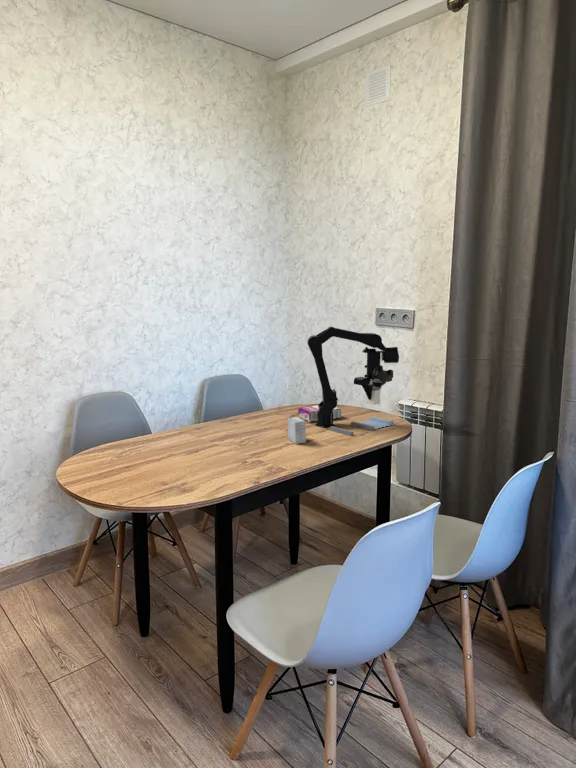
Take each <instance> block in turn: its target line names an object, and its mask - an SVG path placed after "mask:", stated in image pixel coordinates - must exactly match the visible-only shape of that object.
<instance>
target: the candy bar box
mask: <svg viewBox="0 0 576 768" xmlns="http://www.w3.org/2000/svg"><path fill="white" fill-rule="evenodd" d="M318 412H319V408H318V405H312V406H302V407H298V411H297V413H298V415H297V417H298V418H300V419H302V420H304V421H305V422H309V423H314V422H318ZM341 414H342V409H341V408H340V407H338V406H336V407H335V408H334V409H333V420H337V419H341V417H342V415H341Z"/></svg>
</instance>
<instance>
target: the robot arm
mask: <svg viewBox="0 0 576 768" xmlns="http://www.w3.org/2000/svg"><path fill="white" fill-rule="evenodd" d="M333 337H334V338H337V339H343V340H348V341H353V342H359V343H361V344H363V345H365V348H363V350H362V353H364V354H366V364H365V365H364V369H366V374H364V376H357V377H354V379H353V384H354V385H357V386H361V387H362V389H363V390H364V392H365V396H366V395H367V397H368V399H369V400H371V397H372V388H373V386H374V387H380V390H381V389H382V387H383V386H384V385H385V384H387V383H389V382H393V378H394V370H393V369H388V370H385V369H384V366H383V365H381V362H383V363H384V364H398V363H399V361H400V355H399V348H398V347H397V346H391V347H386V346H385V345H384V344H383V339H382V336H381V335H379V334H378V333H374V332H357V331H352V330H347V329H344V328H339V327H334V326H328V327H327V328H325V329H324V330H322V331H321V332H320V333H318V334H316V335H315V334H314V335H311V336H309V337H308V339H307V342H306V343H307V346H308V348H309V350H310V352H311V354H312V356H313V359H314V364H315V366H316V371H317V375H318V379H319V381H320V382H319V383H320V386H321V395H322V401H320V402H319V403H318V405H317V406H318V408H319V412H318V421H317V422H316V423H315V424H314V425H315V426H317V427H321V428H325V429H326V428H330V427H331V426H334V427H336V423H334V419H333V409H334V408H335V407H338V401H339V399H338V397H337V396H338V395H337V391H336V389H334V388H333V389H332V387H331V383H330V381H329V377H328V372H327V368H326V364H325V361H324V356H323V344H324V343H326V342H327V341H329V340H330V339H331V338H333ZM369 347H371V348H369ZM377 349H379V350H377Z"/></svg>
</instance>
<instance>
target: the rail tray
mask: <svg viewBox="0 0 576 768" xmlns="http://www.w3.org/2000/svg"><path fill="white" fill-rule="evenodd" d="M394 424H395V421H393V420H389V419H383V418H379V417H375V416H371V417H370V419H369V420H365V421H361V422H358V421H354V420H353V421H350V426H352V427H356V428H361V429H364V430H368V429H369V430H368V431H375V430H374V429H376V430H379V429H378V428H380V429H383V428H382V427H384V428H387V427H386V426H388V427H391V426H394ZM390 425H391V426H390ZM329 431H331V432H334V433H335V432H336V433H339V434H343V435H346V436H349V437H352V436H354V431H352V430H348V429H344V428H340V427H336V426H331V427H329Z"/></svg>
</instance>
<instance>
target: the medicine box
mask: <svg viewBox="0 0 576 768" xmlns="http://www.w3.org/2000/svg"><path fill="white" fill-rule="evenodd" d="M306 431H307V430H306V420H303V419H301V418H299V417H298V416H296V417H289V418H287V439H288V440H289V441H290V442H292V443H293V444H295V445H298V444H299V445H300V443H301V444H306V443H307V441H306V440H307V437H306V435H307V434H306V433H307V432H306Z"/></svg>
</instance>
